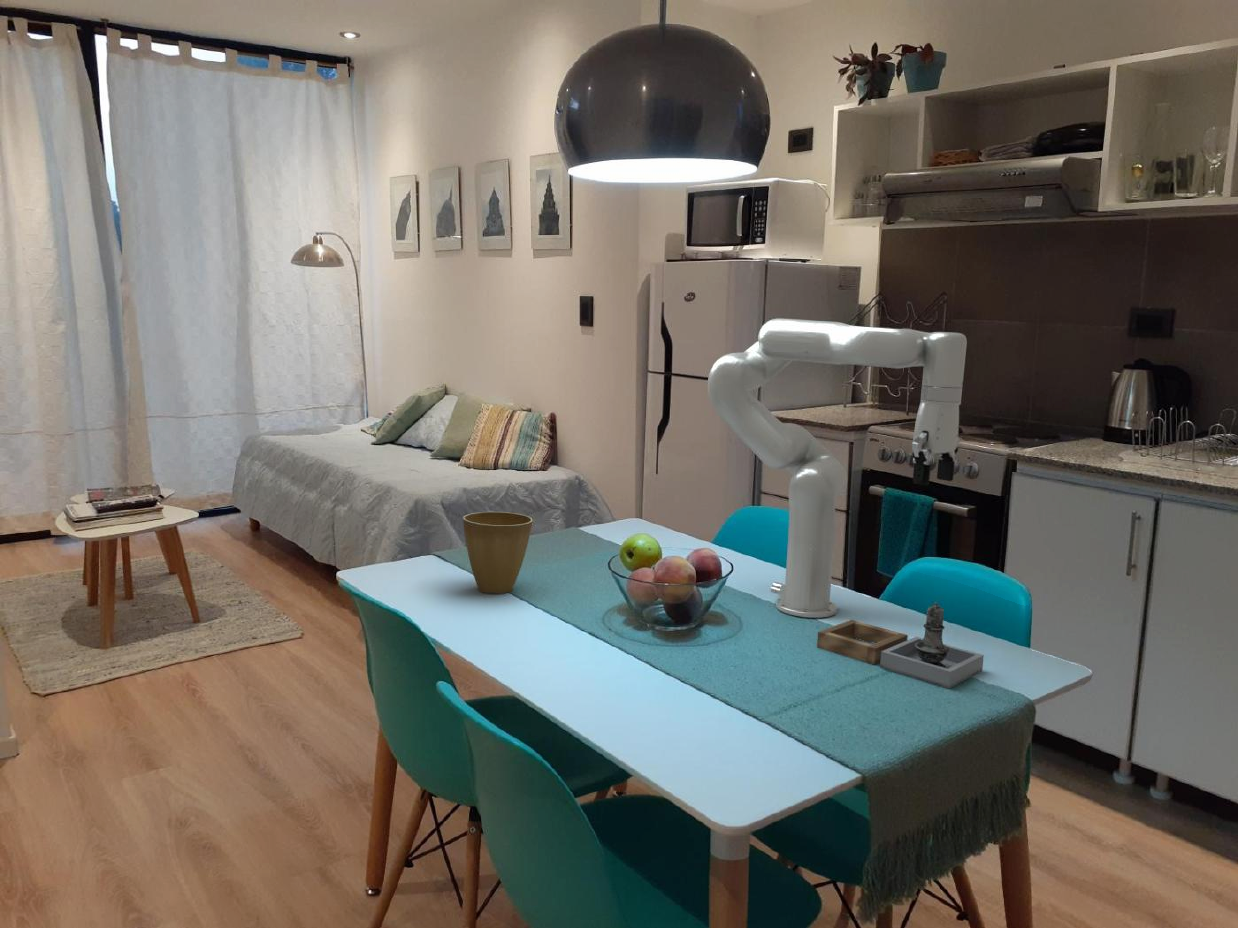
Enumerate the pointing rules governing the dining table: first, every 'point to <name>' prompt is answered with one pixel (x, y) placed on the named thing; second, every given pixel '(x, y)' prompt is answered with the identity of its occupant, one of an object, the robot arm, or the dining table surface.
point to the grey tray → (956, 663)
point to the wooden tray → (842, 643)
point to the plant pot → (496, 548)
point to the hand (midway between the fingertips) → (932, 482)
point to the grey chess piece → (933, 638)
